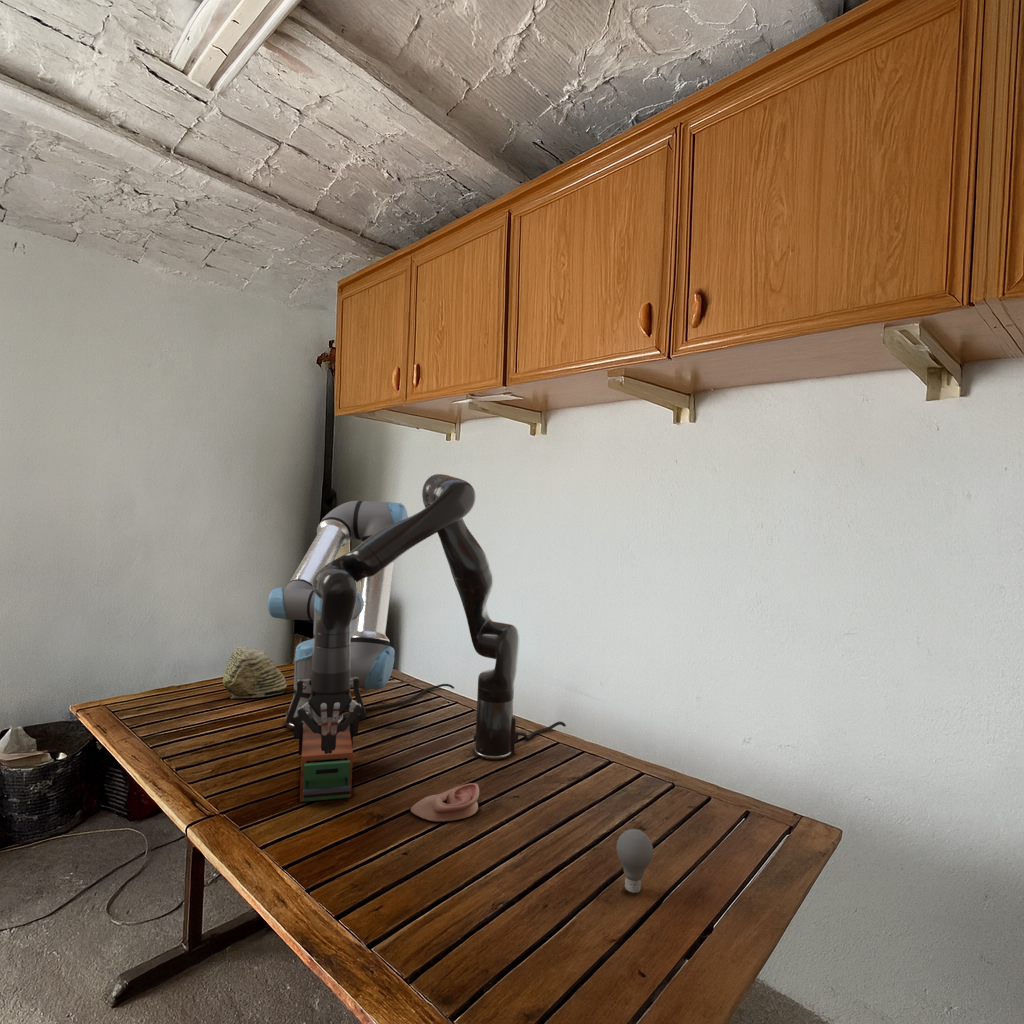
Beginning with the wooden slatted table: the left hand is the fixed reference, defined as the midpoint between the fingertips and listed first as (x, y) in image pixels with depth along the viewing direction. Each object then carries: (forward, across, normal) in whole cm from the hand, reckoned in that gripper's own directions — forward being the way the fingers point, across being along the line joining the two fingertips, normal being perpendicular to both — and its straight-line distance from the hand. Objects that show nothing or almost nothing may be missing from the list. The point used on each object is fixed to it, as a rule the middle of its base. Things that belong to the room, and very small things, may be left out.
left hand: (325, 750), depth 146 cm
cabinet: (+5, 0, -5) cm, 7 cm away
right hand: (-8, 0, -20) cm, 21 cm away
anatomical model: (+5, +24, -24) cm, 34 cm away
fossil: (+5, -21, +60) cm, 64 cm away
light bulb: (+5, +49, -58) cm, 76 cm away
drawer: (+3, 0, -11) cm, 12 cm away
